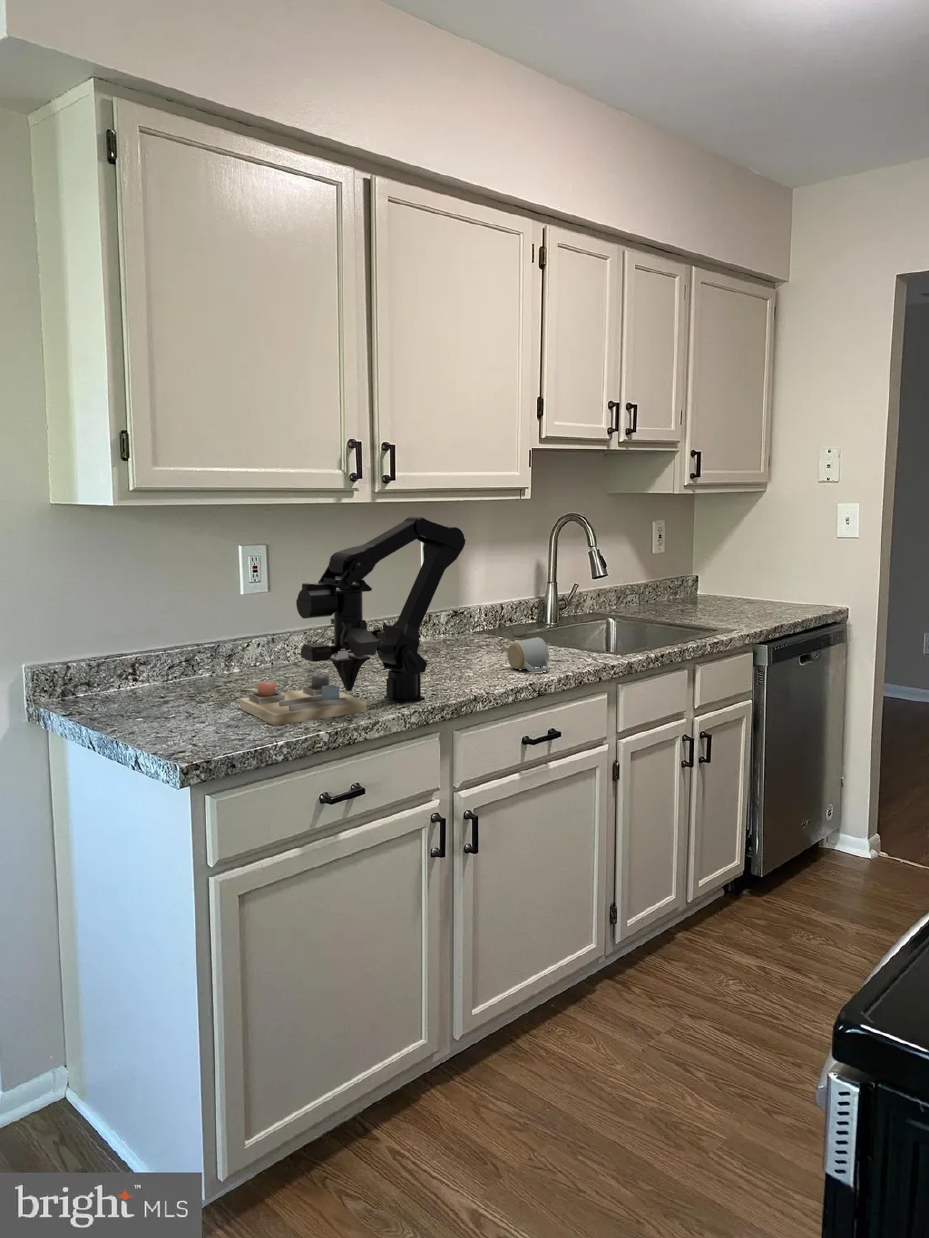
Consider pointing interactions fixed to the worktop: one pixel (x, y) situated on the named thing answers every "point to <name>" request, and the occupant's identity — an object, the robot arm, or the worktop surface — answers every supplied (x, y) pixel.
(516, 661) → the ceramic mug
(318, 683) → the black button
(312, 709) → the control panel
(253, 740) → the worktop surface
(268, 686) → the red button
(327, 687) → the slider knob
